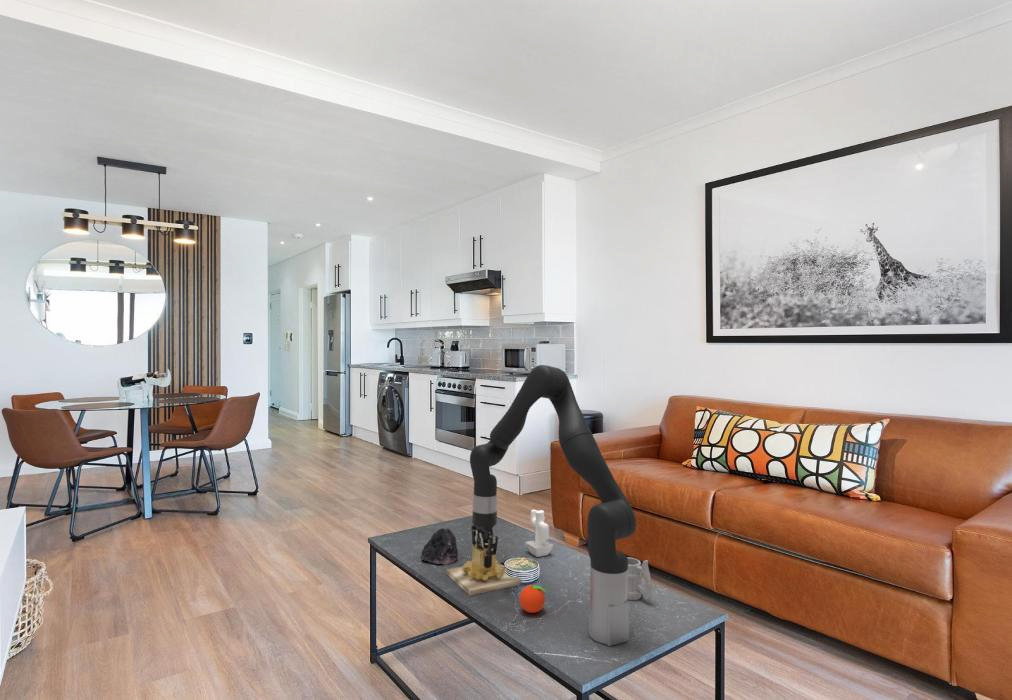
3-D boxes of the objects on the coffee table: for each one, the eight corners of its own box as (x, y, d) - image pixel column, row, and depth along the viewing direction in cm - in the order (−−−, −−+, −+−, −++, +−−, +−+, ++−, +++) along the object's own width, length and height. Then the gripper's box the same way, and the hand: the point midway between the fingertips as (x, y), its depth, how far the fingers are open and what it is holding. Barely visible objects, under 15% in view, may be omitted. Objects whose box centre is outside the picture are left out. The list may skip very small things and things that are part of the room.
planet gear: (509, 574, 173) (510, 550, 173) (474, 581, 167) (474, 556, 167) (491, 561, 183) (492, 538, 183) (458, 567, 178) (458, 543, 178)
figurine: (537, 560, 192) (538, 515, 192) (522, 551, 200) (524, 508, 200) (555, 556, 195) (556, 513, 195) (540, 548, 204) (541, 506, 204)
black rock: (433, 571, 183) (437, 540, 182) (411, 555, 193) (415, 526, 193) (466, 565, 191) (470, 535, 191) (443, 549, 202) (447, 522, 201)
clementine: (549, 607, 158) (550, 581, 157) (547, 619, 151) (547, 592, 151) (521, 604, 159) (521, 579, 159) (517, 616, 152) (517, 589, 152)
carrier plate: (520, 584, 172) (521, 558, 172) (469, 595, 164) (470, 568, 164) (494, 565, 187) (495, 541, 187) (446, 574, 179) (447, 548, 179)
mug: (627, 587, 172) (628, 547, 172) (659, 601, 163) (660, 559, 163) (610, 593, 168) (611, 552, 168) (641, 608, 158) (642, 565, 158)
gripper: (506, 513, 171) (505, 570, 171) (485, 501, 183) (484, 554, 183) (484, 516, 167) (482, 574, 167) (464, 504, 180) (462, 558, 180)
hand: (483, 563), depth 175 cm, fingers closed on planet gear, 5 cm apart
